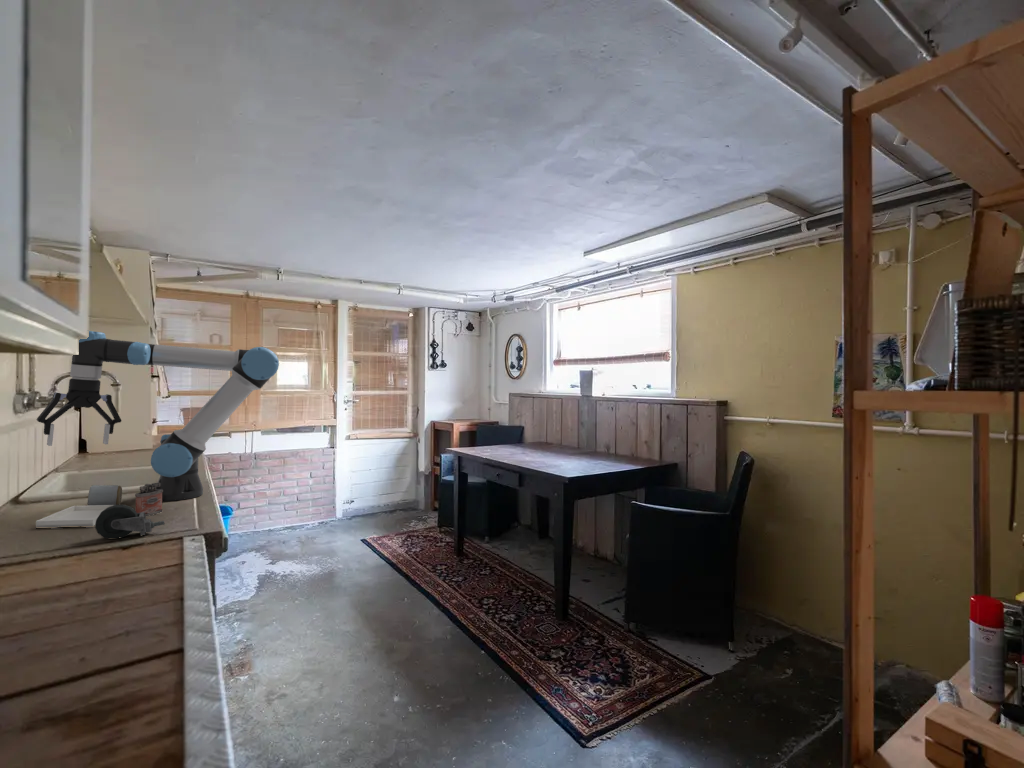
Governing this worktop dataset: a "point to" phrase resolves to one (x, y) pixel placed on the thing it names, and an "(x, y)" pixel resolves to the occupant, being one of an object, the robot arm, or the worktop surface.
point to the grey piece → (105, 495)
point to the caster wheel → (123, 522)
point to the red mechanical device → (149, 499)
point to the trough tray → (73, 516)
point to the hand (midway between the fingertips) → (78, 444)
